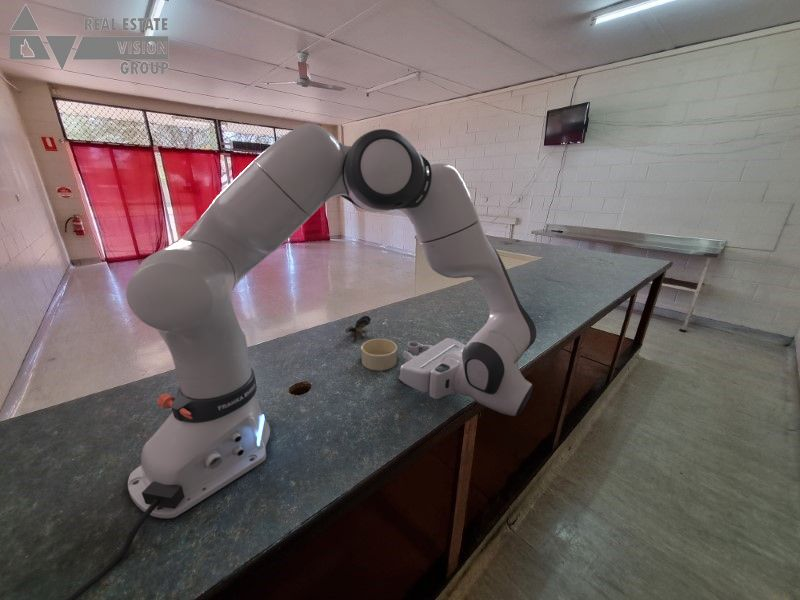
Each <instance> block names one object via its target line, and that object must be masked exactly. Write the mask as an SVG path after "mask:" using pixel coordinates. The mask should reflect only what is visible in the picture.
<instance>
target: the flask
mask: <svg viewBox="0 0 800 600" xmlns="http://www.w3.org/2000/svg"><path fill="white" fill-rule="evenodd" d="M420 344H421V343H420V342H418V341H416V340H411V341H408V342H407V344H406V346H407V347H408V348H407V350H409V351H412V355H413V356H414V355H415V356H418V355H420V353H419V346H420ZM406 362H408V360H407V359H405V361H404V363H403V364H405V363H406ZM397 378H398V380H399V381H401V382H402V380H401V378H400V374H399V375H398V377H397Z"/></svg>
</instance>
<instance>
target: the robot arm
mask: <svg viewBox="0 0 800 600" xmlns="http://www.w3.org/2000/svg"><path fill="white" fill-rule="evenodd" d="M338 196H340V197H342V198H343V199H345V200H346V201H348V202H350V203H352V205H355V206H356V207H358V208H359V209H361V210H363V211H366V212H371V213H377V214H378V213H379V214H381V213H387V212H389V211H395V210H399V211H401V212H402V213H404V214H405V215H406V216H407V218H408V219H409V221H410V222H411V224H412V226H413V229H414V232H415V234H416V237H417V240H418V244H419V246H420V249H421V251H422V254H423V256H424V259H425V261H426V263H427V264H428V266H429V267H430V268H431V270H432V271H434V272H435V273H436V274H438V275H440V276H443V277H445V278H449V279H463V278H464V279H465V278H471V279H473V280H474V281H475V282H476V283H477V285H478V286H479V289H480V291H481V293H482V295H483V298H484V300H485V302H486V304H487V307H488V308H489V316H488V319H487V321H486V323H485V324H484V325H483V326H482V327H481V328H480V329H479V330H478V331H477V332H475V334H474V335H473V336H472V337H471V338H470V339H469V340H468V341H467V343H466V344H464V343H463V342H461V341H459V340H457V339H454V338H451V337H446V338H444V339H443V340H441V341H439V342H438V343H436V344H434V345H433V344H422V343H420V346H419V355H418V356H415V355H414V356H413V355H412V351H409V350H408V349H406V350H404V351H403V352H402V357H403V359H405V360H406V359H407V360H408V362H406V363H405V362H404V363H405V364H404V363H403V364H402V365H400V367H399V368H400V369H399V375H400V378H401V380H402V381H401V380H400V381H401V382H402V383H403V384H405V385H407V386H409V387H410V388H412V389H415V390H417V391H419V392H422V393H429V397H430V398H432V399H434V400H438V399H441V398H444V397H446V396H450V395H455V394H456V393H457V394H458V395H461V396H465V397H469V398H471V399H473V400H474V401H475V402H477V403H478V404H479V405H482V406H483V407H485V408H488V409H490V410H492V411H495V412H497V413H500V414H502V415H506V416H511V417H516V416H518V415H520V414H521V413H522V412H523V410H524V408H525V407H526V405H527V403H528V401H529V400H530V397H531V396H532V393H533V389H534V388H533V383H532V382H530V381H529V380H527V379H525V377H524V376H523V373H522V372H521V369H520V368H519V363H518V362H519V360H520V359H521V358H522V356H523V355H524V354H525V352H526V351H527V350H529V348H530V347H532V346H533V344H534V343H535V342H536V339H537V328H536V325H535V322H534V321H533V319H532V318H531V316H530V315H529V313H528V312H527V311H526V310H525V308H524V307H523V305H522V303H521V301H520V300H519V297H518V295H517V292H516V290H515V287H514V285H513V283H512V280H511V278H510V275H509V273H508V271H507V269H506V266H505V264H504V262H503V260H502V258H501V255H500V254H499V252H498V251H497V250H496V248H495V247H494V246H493V245H492V244H491V243H490V242H489V240H488V237H487V236H486V233H485V231H484V228H483V226H482V223H481V220H480V217H479V213H478V210H477V208H476V206H475V203H474V200H473V197H472V195H471V193H470V191H469V189H468V186H467V185H466V183H465V181H464V179H463V177H462V176H461V174H460V172H459V171H458V169H457V168H456V167H454V166H453V165H451V164H447V163H441V162H440V163H432V164H431V162H430V161H429V160H428V159H427V158H426V157H425V156H423V155H422V154H421V153H420V152H419V151H418V150H417V149H416V147H415V146H414V145H413V144H412V142H411V141H409V139H407V138H406V137H405V136H404V135H402V134H400V133H398V132H397V131H394V130H391V129H387V128H378V129H372V130H370V131H368V132H366V133H363V134H362V135H361V136H360V137H358V138H357V139H356V140H355V141H354V142H353V143H352V145H345V144H343V143H342V142H339V141H338V138H336V137H335V136H334V134H332V132H330V131H328V129H326V128H324V127H323V126H321V125H318V124H315V123H311V122H308V123H307V122H306V123H303V124H301V125H299V126H296V127H295V128H293V129H292V130H290V131H289V132H287V133H285V134H284V135H282V136H281V137H280V138H279V139H277V140H276V141H274V142H273V143H272V144H271V145H269V146H268V147H267V148H266V149H264V150H263V152H261V153H260V154H259V155H257V157H256V158H255V159H254V160H253V161H252V162H251V163H249V165H248V166H247V167H246V168H245V169H244V170H243V171H242V172H240V173H239V174H238V176H236V177H235V178H234V179H233V180H232V181H231V183H229V184H228V185H227V186H226V187H225V188H224V189H223V190H222V191H220V193H219V194H218V195H217V196H216V197H215V198H214V199H213V201H212V203H211V204H210V205H209V207H208V208H207V209H206V210H205V211H204V213H203V214H202V215H201V216H200V217H199V218H198V219H197V220H196V222H194V224H193V225H192V226H191V227H190V228H189V229H188V231H186V233H184V235H182V236H181V237H180V238H178V239H177V240H175V241H174V242H172V243H171V244H169V245H167V246H165V247H164V248H161V249H159V250H158V251H155V252H154V253H152V254H150V255H149V256H147V257H146V258H144V259H143V261H142V262H140V264H139V265H138V267H137V268H136V270H135V271H134V272H133V274H132V275H131V277H130V279H129V281H128V283H127V286H126V293H125V295H126V302H127V304H128V307H129V309H130V310H131V312H132V313H133V314H134V316H135V317H136V318H137V319H139V320H140V321H141V322H142V323H144V324H145V325H147V326H149V327H151V328H153V329H155V330H156V331H157V333H158V334H159V335H160V337H161V338H162V340H163V341H164V343H165V345H166V346H167V348H168V350H169V353H170V356H171V358H172V362H173V366H174V370H175V373H176V376H177V377H176V378H177V380H178V385H179V388H178V390H177V392H176V393H177V394H176V397H174V396H172V395H171V394H169V393H163V394H161V395H160V396H158V399H157V405H158V406H161V407H162V408H163V409H165V410H167V409H171V411H172V412H171V413H170V415H169V416H168V417H167V418H166V419H165V421H164V422H163V423H162V424H161V425H160V427H159V428H157V430H156V431H155V432H154V433H153V434H152V435H151V437H150V438H148V440H147V441H146V442H145V443H144V445H143V447H142V450H141V454H140V465H139V466H138V467H136V468H134V469H133V470H132V472H130V473H129V476H128V480H127V489H128V494H129V497H130V498H131V500H132V502H133V503H134V504H135V505H136V507H138V508H139V510H141V511H142V512H143V513H142V514H141V516H140V517H139V518H138V520H137V521H136V523H135V524H134V525H133V526H132V528H131V529H130V532H129V533H128V535H127V537H126V539H125V542H124V544H123V546H122V547H121V548H120V550H119V551H118V552H117V553H116V554H115V556H113V557H112V559H111V560H110V561H109V562H108V563H106V565H104V567H102V568H101V569H100V570H99V571H98V572H97V573H95V574H94V575H93V576H92V577H91V578H89V579H88V580H87V581H85V582H84V583H83V584H82V585H80V586H79V587H78V588H77V589H75V590H74V591H73V592H72V593H71V594H69V595H68V596H67V597H65V598H64V600H76V599H77V598H78V597H80V596H81V595H83V593H85V592H86V591H87V590H89V588H91V587H92V586H93V585H94V584H96V583H97V582H98V581H99V580H100V579H102V578H103V577H104V576H105V575H106V574H107V573H108V572H109V571H111V569H112V568H114V566H115V565H116V564H117V563H119V562H120V560H122V558H123V557H124V555H125V554H126V553H127V552H128V550H129V549H130V547H131V546H132V544H133V542H134V540H135V537H136V535H137V533H138V531H139V530H140V529H141V527H142V525H143V524H144V523H145V521H146V520H147V519H148V517H149V516H151V517H154V518H158V519H174V518H177V517H178V516H180V515H181V514H183V513H185V512H186V511H188V510H190V509H191V508H192V507H194V506H196V505H197V504H199V503H201V502H202V501H204V500H205V499H207V498H209V497H211V496H212V495H214V493H216V492H218V491H220V490H221V489H222V488H225V487H226V486H228V485H229V484H230V483H232V482H234V481H235V480H236V479H238V478H240V477H241V476H243V475H245V474H246V473H248V472H249V471H251V470H253V469H254V468H256V467H258V466H259V465H261V464H262V463H263V462H264V461H265V460H266V459H267V445H268V442H269V439H270V436H271V426H270V424H269V422H268V421H267V419H266V418H265V414H263V411H262V409H261V406H260V403H259V400H258V396H257V389H258V387H257V385H258V384H257V380H256V374H255V371H254V368H252V366H251V359H250V353H249V348H248V341H247V337H246V333H245V331H244V330H243V329H242V328H241V325H240V323H239V321H238V318H237V315H236V312H235V308H234V304H233V291H234V289H235V288H236V287H237V285H238V284H239V283H240V282H241V281H242V280H243V279H244V278H245V277H246V276H247V275H248V274H250V272H251V271H253V270H254V269H255V268H256V267H257V266H259V265H260V264H261V263H262V262H264V261H265V259H267V258H268V257H269V256H271V255H272V254H273V253H275V252H276V251H277V250H279V248H280V247H281V246H282V245H283V244H284V243H285V242H286V241H288V239H290V238H291V237H292V236H293V235H294V234H295V233H296V232H297V231H298V230H299V229H300V228H301V227H302V226H303V225H304V224H305V223H306V222H307V221H308V220H309V219H310V218H311V217H312V216H313V215H314V214H315V213H316V212H317V211H318V210H319V209H321V207H322V206H324V205H325V204H326V203H327V202H329V201H330V200H331V199H333V198H335V197H338Z"/></svg>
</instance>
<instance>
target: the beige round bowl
mask: <svg viewBox="0 0 800 600" xmlns="http://www.w3.org/2000/svg"><path fill="white" fill-rule="evenodd" d="M360 347H361V364H362V366H363V367H365V368H366V369H369V370H371V371H379V372H380V371H381V372H382V371H387V370H389V369H392V368H393V367H395V366H396V365H397V363H398V344H397V343H396V342H394V341H393V340H390V339H386V338H371V339H369V340H366V341H365V342H363V343H362V344H361V346H360Z"/></svg>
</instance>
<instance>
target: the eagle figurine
mask: <svg viewBox="0 0 800 600" xmlns="http://www.w3.org/2000/svg"><path fill="white" fill-rule="evenodd" d="M371 321H372V320H371V317H370V316H369V315H364V316H361V317H360V318H359V319H357V320H356V321H355V324H354V326H352V325H350V326H348V327H346V328H345V333H346V334H347V333H352V335H350V337H353V343H354V342H356V341H357V340H358V338H359V337H361V336H362V337H364V338H366V334H365V332H366V330H364V328H366V326H369V325H370V324H371Z"/></svg>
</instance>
